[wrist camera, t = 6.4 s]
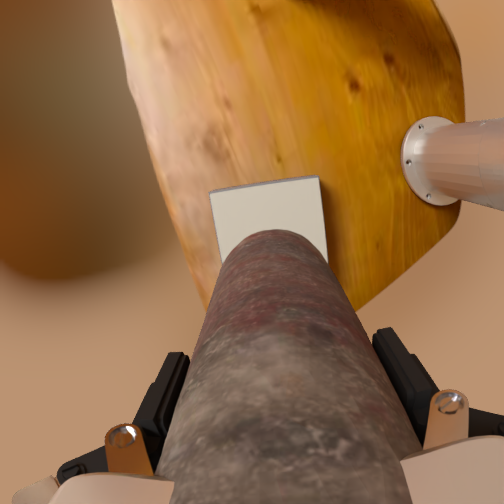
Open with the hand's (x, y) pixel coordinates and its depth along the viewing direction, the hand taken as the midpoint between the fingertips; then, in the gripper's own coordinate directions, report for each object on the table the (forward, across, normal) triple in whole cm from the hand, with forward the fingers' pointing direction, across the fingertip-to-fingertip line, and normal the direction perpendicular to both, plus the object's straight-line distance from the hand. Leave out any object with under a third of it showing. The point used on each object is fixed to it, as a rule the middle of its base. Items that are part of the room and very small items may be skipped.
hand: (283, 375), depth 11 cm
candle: (+10, 0, 0) cm, 10 cm away
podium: (+30, 0, +1) cm, 30 cm away
